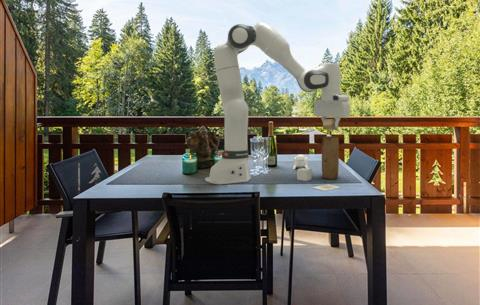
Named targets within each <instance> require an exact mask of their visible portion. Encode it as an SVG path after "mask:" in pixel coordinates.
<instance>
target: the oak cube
mask: <svg viewBox="0 0 480 305" xmlns="http://www.w3.org/2000/svg"><path fill="white" fill-rule="evenodd" d="M335 121H336V119H335V118H326V119H323V121H322V130H324V131H337V130H339V126H338V127H334V126H333V123H335Z"/></svg>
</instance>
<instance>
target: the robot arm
mask: <svg viewBox="0 0 480 305" xmlns="http://www.w3.org/2000/svg"><path fill="white" fill-rule="evenodd" d="M250 46H254V47H257V48H258V49H259V50H260V51H262V52H263V53H264V54H265V55H266V56H267V57H268V58H270V59H271V60H273V61H274V62H275V63H278V64H279V65H281V66H282V67H283V68H284V69H285V70H286V71H287V72H289V74H290V75H291V76H293V77H294V79H295V80H296V81H297V84H298V86H299V88H300V89H301V90H302V91H304V92H305V93H311V92H313V91H317V90H320V89H321V97H316V99H315V100H314V104H313V111H312V114H313V116H314V117H321V118H320V119H321V121H322V122H323V119H327V118H328V117H330V118H334V119H336V121H335V123H333V126H334V127H338V128H339V123H340V120H341V118H349V117H350V113H351V112H350V111H351V105H350V102H349V100H350V96H349V95H347V94H345V93H342V92H341V91H342V90H341V84H342V83H341V82H342V72H341V67H340V65H339V64H338V63H336V62H332V61H327V62H323V63H322V64H321V65H318V67H315V68H313V69H310V70H308V69H306V68H305V67H303V66H302V65H301V64H300V62H298V61H297V60H296V59H295V58H294V56H293V55H292V52H291V47H290V43H288V41H287V39H286V38H285V37H284V36H283V35H282V34H280V33H279V31H277V30H276V29H274V27H272V26H270V25H269V24H268V23H265V22H264V21H260V22H257V23H256V24H255V25H254V24H253V26H251V25H246V24H243V23H242V24H240V23H237V24H235V25H232V27H230V29H229V30H228V34H227V41H226V42H225V43H223V44H220V45H218V46H216V48H215V49H214V51H213V53H214V54H213V59H214V68H215V73H216V74H215V75H216V80H217V83H218V87H219V94H220V100H221V105H222V110H223V115H224V133H223V134H224V150H223V151H221V150H219V151H217V155H218V156H221V158H220V159H219V160H218V161H216V162H215V163H214V165H212V166H211V167H210V172H209V176H208V177H205V178H204V180H205V182H207V183H209V184H214V185H227V184H235V183H236V184H237V183H248V182H250V180H251V179H252V176H251V173H250V168H249V167H250V166H249V149H248V128H249V127H248V126H249V105H248V103H247V102H246V101H245V94H244V89H243V81H242V76H241V71H240V65H239V61H238V55H239V54H241V53H243V52H245V51H246V50H248V48H249V47H250Z"/></svg>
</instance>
